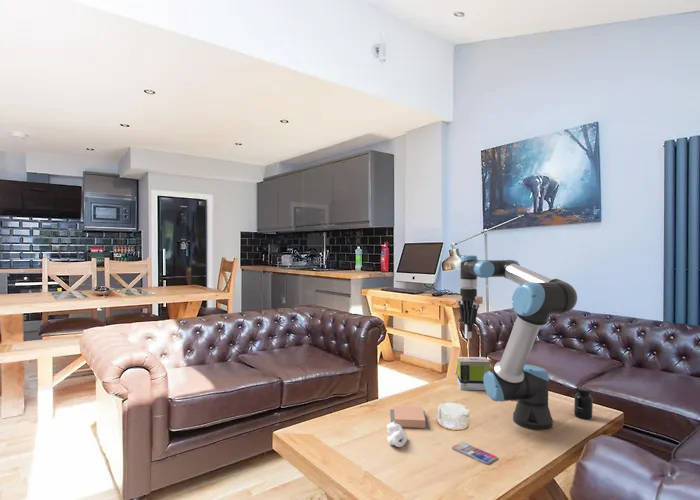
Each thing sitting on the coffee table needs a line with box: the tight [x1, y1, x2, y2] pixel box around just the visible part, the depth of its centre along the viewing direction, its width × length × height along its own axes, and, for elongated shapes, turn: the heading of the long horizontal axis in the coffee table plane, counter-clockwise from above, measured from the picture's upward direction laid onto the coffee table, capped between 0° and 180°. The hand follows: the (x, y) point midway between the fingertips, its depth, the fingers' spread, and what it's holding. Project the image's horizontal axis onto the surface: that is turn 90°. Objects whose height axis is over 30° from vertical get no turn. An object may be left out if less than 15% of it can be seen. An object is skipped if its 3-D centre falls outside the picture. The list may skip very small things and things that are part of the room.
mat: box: [389, 408, 430, 430], centre depth 177 cm, size 18×15×1 cm
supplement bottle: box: [573, 386, 594, 420], centre depth 181 cm, size 7×7×12 cm
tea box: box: [456, 356, 491, 391], centre depth 217 cm, size 15×10×15 cm
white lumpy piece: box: [385, 422, 408, 448], centre depth 157 cm, size 9×12×8 cm
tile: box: [393, 405, 426, 429], centre depth 175 cm, size 3×12×14 cm
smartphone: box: [451, 441, 499, 466], centre depth 149 cm, size 7×1×15 cm
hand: (468, 338), depth 199 cm, fingers closed
